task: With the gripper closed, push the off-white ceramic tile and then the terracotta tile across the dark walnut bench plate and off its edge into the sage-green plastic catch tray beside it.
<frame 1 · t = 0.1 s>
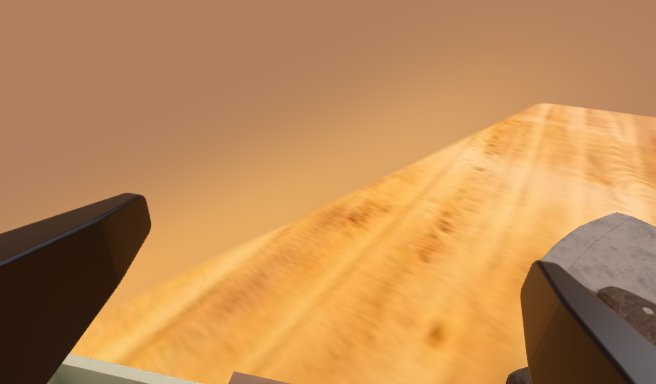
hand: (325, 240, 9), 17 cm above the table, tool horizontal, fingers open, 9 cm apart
cleaver: (599, 298, 32), on the table
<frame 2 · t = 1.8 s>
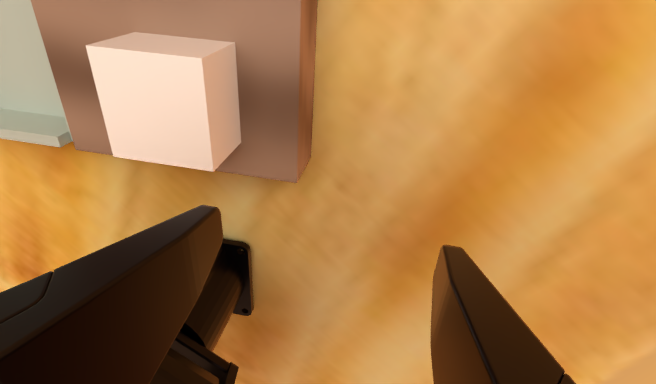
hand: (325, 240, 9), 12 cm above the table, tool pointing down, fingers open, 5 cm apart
white tile: (190, 90, 18), point 3 cm above the table, touching bench plate
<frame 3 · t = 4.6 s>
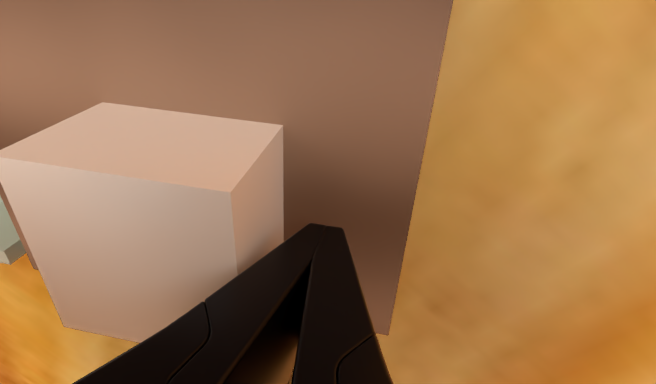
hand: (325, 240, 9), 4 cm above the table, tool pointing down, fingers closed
white tile: (200, 195, 10), point 3 cm above the table, touching bench plate, gripper
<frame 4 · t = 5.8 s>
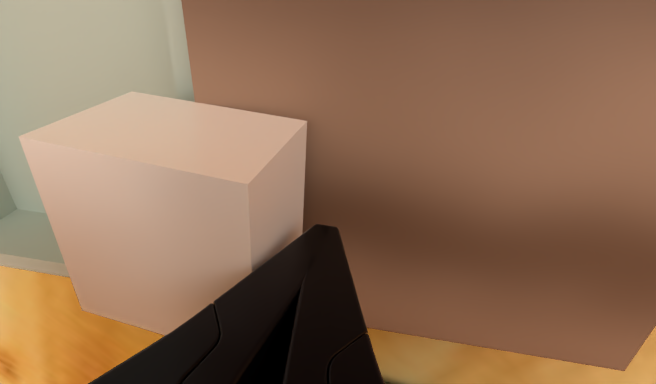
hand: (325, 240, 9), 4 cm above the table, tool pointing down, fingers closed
white tile: (222, 188, 10), point 3 cm above the table, tilted 6°, touching bench plate, gripper
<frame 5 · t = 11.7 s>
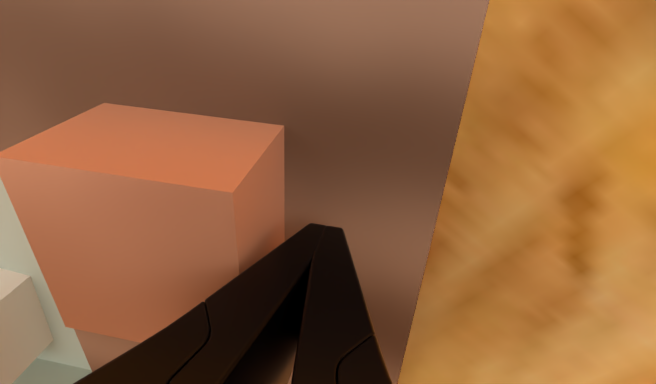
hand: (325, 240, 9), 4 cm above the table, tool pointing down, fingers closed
terracotta tile: (201, 195, 10), point 3 cm above the table, touching gripper
bench plate: (251, 254, 15), on the table
catch tray: (4, 221, 17), on the table
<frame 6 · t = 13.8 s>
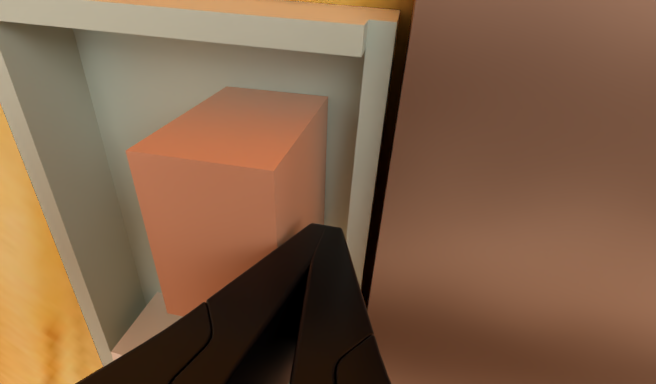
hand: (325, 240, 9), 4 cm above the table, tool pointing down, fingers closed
terracotta tile: (306, 208, 10), point 3 cm above the table, tilted 92°, touching catch tray, gripper
bench plate: (540, 303, 14), on the table
catch tray: (240, 260, 16), on the table
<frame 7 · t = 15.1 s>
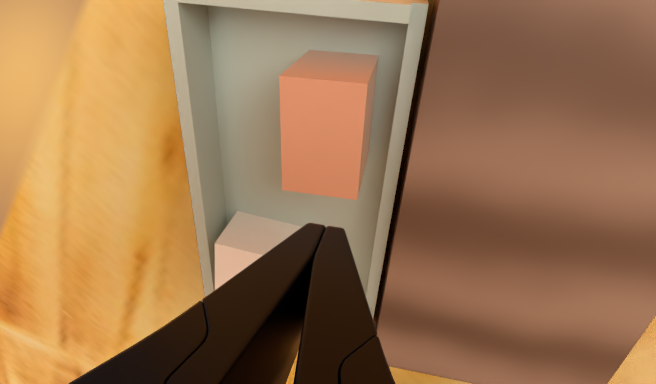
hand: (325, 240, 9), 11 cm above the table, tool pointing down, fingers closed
terracotta tile: (368, 124, 16), point 3 cm above the table, tilted 90°, touching catch tray
white tile: (254, 285, 21), point 4 cm above the table, tilted 180°, touching catch tray
bench plate: (520, 209, 20), on the table
catch tray: (302, 184, 21), on the table
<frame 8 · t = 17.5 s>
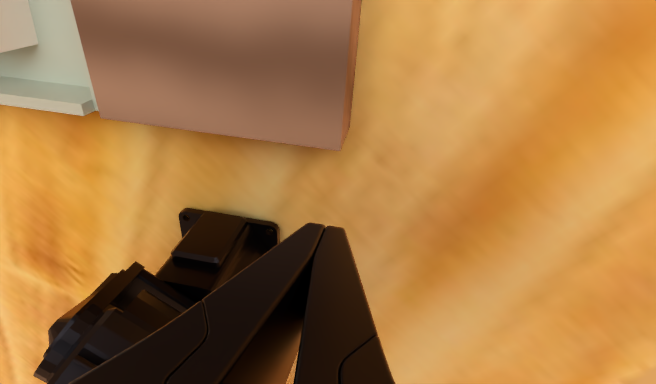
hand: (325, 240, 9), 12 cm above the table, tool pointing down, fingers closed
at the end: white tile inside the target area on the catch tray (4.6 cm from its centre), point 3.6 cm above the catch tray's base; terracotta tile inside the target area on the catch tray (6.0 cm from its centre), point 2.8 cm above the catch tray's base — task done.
